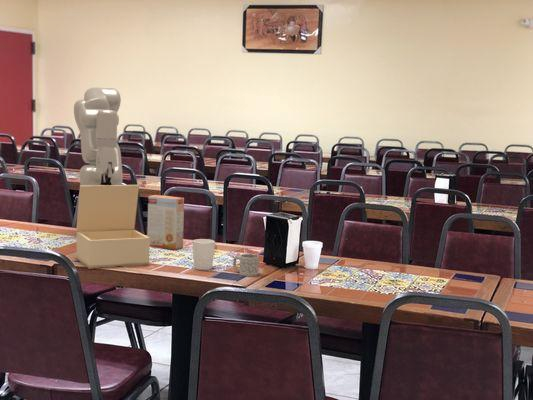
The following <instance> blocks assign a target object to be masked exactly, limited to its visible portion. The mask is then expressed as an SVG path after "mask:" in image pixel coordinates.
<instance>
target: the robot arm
mask: <svg viewBox="0 0 533 400" xmlns="http://www.w3.org/2000/svg"><path fill="white" fill-rule="evenodd" d="M121 99H122V98H121V93H120V92H119V91H118V90H117V89H116V88H109V87H90V88H88V89H87V90H86V91H85V93H84V94H83V99H78V100H77V101H75V102H74V105H73V115H74V117H73V118H74V120H75V122H76V123H75V124H76V126H77V128H78V131H79V135H80V147H81V148H80V150H81V158H82V161H83V162H84V163H85V164H86V165H82V167H81V168H80V169H79V185H80V186H82V185H114V184H120V185H123V178H124V177H123V165H122V153H121V148H120V146H119V144H118V143H117V142H118V126H119V123H120V118H119V116H120V115H119V114H118V112H119V110H120V108H121ZM80 232H85V231H80Z"/></svg>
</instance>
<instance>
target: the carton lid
mask: <svg viewBox="0 0 533 400" xmlns="http://www.w3.org/2000/svg"><path fill="white" fill-rule="evenodd" d="M139 190H140V185H139V184H121V185H120V184H114V185H82V186H81V185H79V193H78V206H77V216H76V217H77V219H76V230H75V231H76V233H77V232H81V231H111V230H135V226H136V217H137V208H138V201H139V200H138V199H139Z"/></svg>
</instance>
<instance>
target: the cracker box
mask: <svg viewBox="0 0 533 400" xmlns="http://www.w3.org/2000/svg"><path fill="white" fill-rule="evenodd" d="M147 198H148V200H147V235H146V236H147V237H149V238H150V247H153V248H161V249H166V250H171V251H172V250H173V251H175V250H180V249H183V246H184V218H185V217H184V213H185V198H184V197H180V196H172V195H171V196H170V195H163V194H162V195H160V194H153V195H148V197H147Z"/></svg>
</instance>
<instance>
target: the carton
mask: <svg viewBox="0 0 533 400" xmlns="http://www.w3.org/2000/svg"><path fill="white" fill-rule="evenodd" d="M150 247H151V246H150V238H149V237H147V235H145V234H143V233H142V232H140V231H138V230H136V229H129V230H104V231H85V232H81V231H79V232H77V231H76V250H75V251H76V252H75V253H76V255H75V257H76V260H78V262H80V263H81V264H82V263H83V264H82V265H83V266H84V267H86V268H87V269H88V270H91V269H94V268H95V269H99V268H98V267H111V268H118V267H117V266H127V267H139V266H140V267H141V266H150ZM115 266H116V267H115ZM95 269H94V270H95Z"/></svg>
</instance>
